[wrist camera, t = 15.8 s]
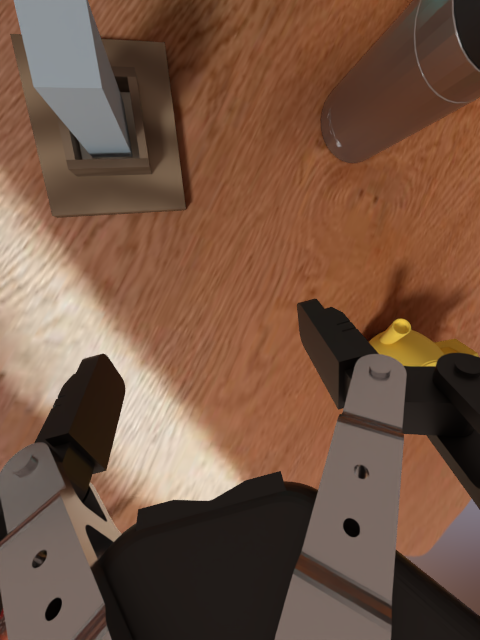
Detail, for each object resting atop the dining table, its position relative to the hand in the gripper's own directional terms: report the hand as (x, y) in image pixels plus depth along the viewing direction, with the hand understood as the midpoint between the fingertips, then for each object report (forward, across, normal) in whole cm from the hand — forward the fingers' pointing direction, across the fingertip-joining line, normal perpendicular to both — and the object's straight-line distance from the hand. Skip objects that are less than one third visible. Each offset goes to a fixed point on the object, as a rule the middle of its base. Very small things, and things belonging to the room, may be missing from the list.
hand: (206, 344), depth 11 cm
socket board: (+28, +7, -9) cm, 31 cm away
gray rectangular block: (+27, +6, -9) cm, 29 cm away
